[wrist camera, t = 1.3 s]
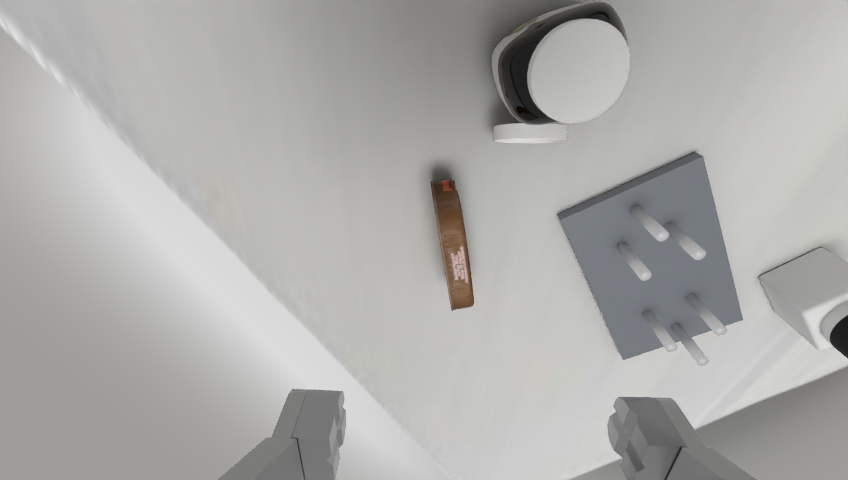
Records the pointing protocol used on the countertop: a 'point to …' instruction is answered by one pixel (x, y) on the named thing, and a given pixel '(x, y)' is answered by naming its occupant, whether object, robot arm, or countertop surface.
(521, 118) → the spread jar
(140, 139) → the countertop surface
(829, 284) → the medicine bottle
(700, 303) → the pin tray
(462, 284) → the tin
